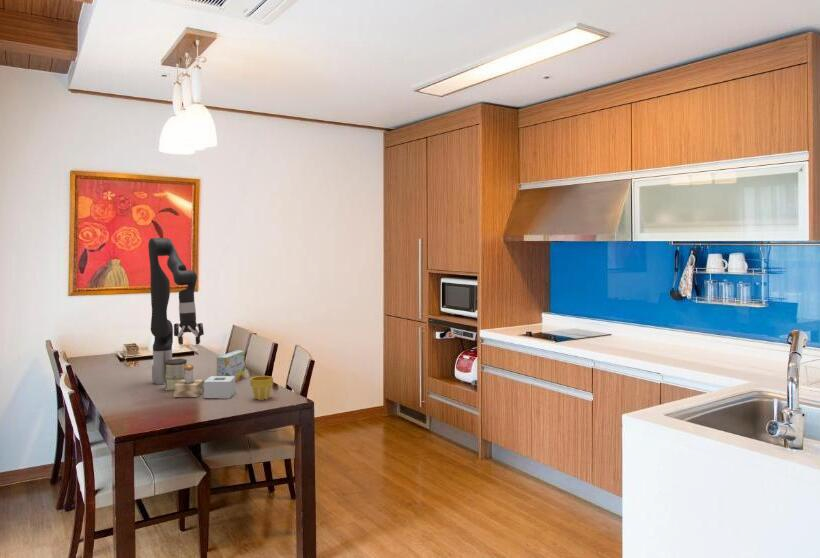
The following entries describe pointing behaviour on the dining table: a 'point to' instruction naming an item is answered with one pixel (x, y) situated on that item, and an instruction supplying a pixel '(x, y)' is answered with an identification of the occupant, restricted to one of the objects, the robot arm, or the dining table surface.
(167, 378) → the coffee can
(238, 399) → the dining table surface
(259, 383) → the plant pot
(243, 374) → the snack box
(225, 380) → the socket
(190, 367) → the pin
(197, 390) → the mount
